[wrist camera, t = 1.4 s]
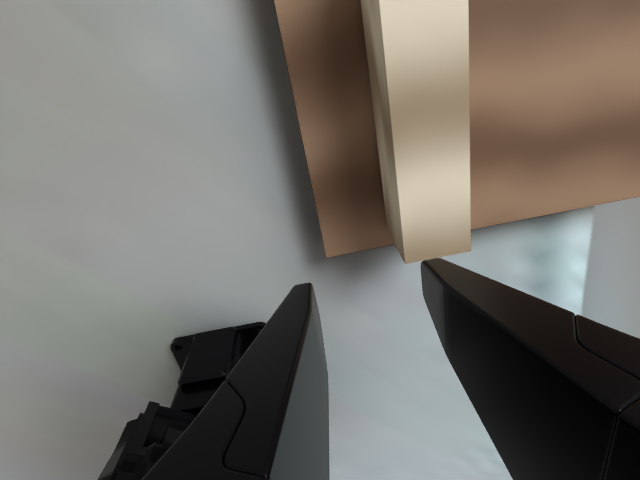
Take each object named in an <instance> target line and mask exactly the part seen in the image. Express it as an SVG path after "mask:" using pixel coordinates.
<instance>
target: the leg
mask: <svg viewBox="0 0 640 480" xmlns="http://www.w3.org/2000/svg"><path fill="white" fill-rule="evenodd" d="M361 8H362V17H363V25H364V34H365V42H366V51H367V59H368V68H369V76H370V85H371V93H372V102H373V110H374V119H375V127H376V136H377V144H378V153H379V161H380V170H381V178H382V187H383V195H384V204H385V212H386V221H387V229H388V233H389V235H390V237H391V239H392V240H393V242H394V244H395V246H396V248H397V250H398V251H399V253H400V255H401V257H402V259H403V261H404V262H405V264H406V263H412V262H417V261H422V260H427V259H432V258H437V257H442V256H448V255H453V254H458V253H463V252H468V251H471V214H470V111H469V8H468V0H361Z"/></svg>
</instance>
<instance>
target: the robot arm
mask: <svg viewBox="0 0 640 480" xmlns="http://www.w3.org/2000/svg"><path fill="white" fill-rule="evenodd" d="M421 277H422V290H423V296H424V299H425V302H426V305H427V307H428V310H429V312H430V315H431V318H432V320H433V323H434V325H435V328H436V331H437V333H438V336H439V338H440V341H441V343H442V346H443V348H444V351H445V353H446V355H447V357H448V359H449V361H450V363H451V365H452V367H453V369H454V371H455V373H456V375H457V376H458V378H459V380H460V382H461V384H462V386H463V388H464V389H465V391H466V393H467V395H468V397H469V399H470V401H471V402H472V404H473V406H474V408H475V410H476V412H477V414H478V415H479V417H480V419H481V421H482V423H483V425H484V427H485V428H486V430H487V432H488V434H489V436H490V438H491V440H492V441H493V443H494V445H495V447H496V449H497V451H498V453H499V454H500V456H501V458H502V460H503V462H504V464H505V466H506V467H507V469H508V471H509V473H510V475H511V477H512V479H513V480H640V339H639V338H636V337H633V336H630V335H628V334H626V333H623V332H620V331H618V330H615V329H613V328H610V327H608V326H605V325H602V324H600V323H597V322H595V321H592V320H590V319H588V318H585V317H583V316H580V315H576V316H575V314H574V313H573V312H570V311H568V310H565V309H563V308H561V307H558V306H556V305H553V304H551V303H548V302H546V301H543V300H541V299H539V298H536V297H534V296H531V295H529V294H526V293H524V292H522V291H519V290H517V289H514V288H512V287H509V286H507V285H504V284H502V283H500V282H497V281H495V280H492V279H490V278H487V277H485V276H482V275H480V274H478V273H475V272H473V271H470V270H468V269H465V268H463V267H460V266H458V265H456V264H453V263H451V262H448V261H446V260H443V259H441V258H433V259H428V260H424V261H422V263H421ZM258 329H262V330H261V331H259V330H258ZM178 345H181V346H178ZM171 350H172V352H173V354H174V356H175V358H176V360H177V363H178V365H179V367H180V369H181V374H180V377H179V380H178V387H177V390H176V393H175V396H174V399H173V401H172V404H171V407H170V408H168V407H163V406H159V403H155V402H151V401H150V402H149V404H148V406H147V408H146V411H145V413H144V414H143V413H140V414H139V417H138V419H135V420H132V421H129V422H127V425H126V427H125V429H124V431H123V433H122V436H121V438H120V440H119V442H118V444H117V446H116V448H115V450H114V452H113V454H112V456H111V458H110V459H109V461H108V463H107V464H106V466H105V468H104V469H103V471H102V473H101V475H100V476H99V478H98V480H329V401H328V372H327V364H326V357H325V350H324V343H323V336H322V329H321V322H320V315H319V311H318V306H317V302H316V298H315V293H314V289H313V285H312V284H311V283H304V284H299V285H295V286H294V287H293V288H292V289H291V291H290V292H289V294H288V295H287V296H286V298H285V299H284V300H283V302H282V303H281V304H280V306H279V307H278V308H277V310H276V311H275V313H274V314H273V315H272V317H271V318H270V319H269V321H268V322H267V323H263V322H257V323H251V324H246V325H241V326H236V327H228V328H223V329H218V330H213V331H208V332H202V333H197V334H194V335H189V336H184V337H178V338H175V339H174V340H173V342H172V344H171Z"/></svg>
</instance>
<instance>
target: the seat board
mask: <svg viewBox="0 0 640 480" xmlns="http://www.w3.org/2000/svg"><path fill="white" fill-rule="evenodd" d="M274 3H275V8H276V13H277V17H278V22H279V27H280V32H281V37H282V42H283V47H284V52H285V57H286V62H287V66H288V71H289V76H290V81H291V86H292V91H293V96H294V101H295V106H296V111H297V115H298V120H299V125H300V130H301V135H302V140H303V145H304V150H305V155H306V160H307V164H308V169H309V174H310V179H311V184H312V189H313V194H314V199H315V204H316V208H317V213H318V218H319V223H320V228H321V233H322V238H323V243H324V248H325V253H326V257H327V258H328V257H333V256H338V255H343V254H348V253H353V252H358V251H363V250H369V249H374V248H379V247H384V246H389V245H394V242H393V240H392V239H391V237H390V235H389V233H388V229H387V221H386V212H385V204H384V195H383V187H382V178H381V170H380V161H379V153H378V144H377V136H376V127H375V119H374V110H373V102H372V93H371V85H370V76H369V68H368V59H367V51H366V42H365V34H364V25H363V17H362V8H361V0H274ZM468 8H469V111H470V214H471V229H476V228H481V227H486V226H492V225H497V224H502V223H507V222H512V221H517V220H522V219H527V218H533V217H538V216H543V215H548V214H553V213H558V212H563V211H568V210H574V209H579V208H584V207H589V206H594V205H599V204H604V203H609V202H614V201H620V200H624V199H629V198H635V197H640V0H468Z"/></svg>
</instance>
